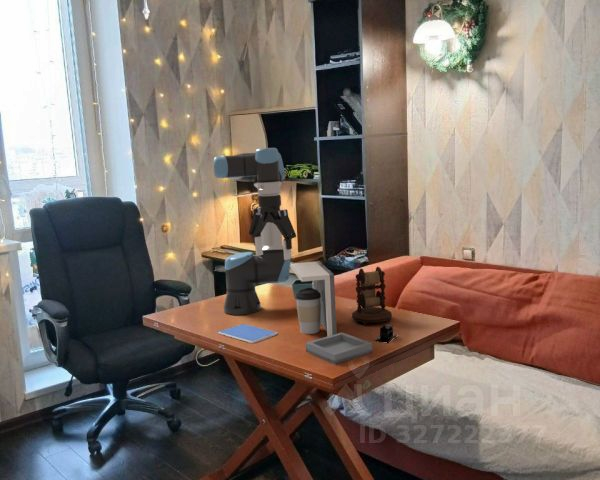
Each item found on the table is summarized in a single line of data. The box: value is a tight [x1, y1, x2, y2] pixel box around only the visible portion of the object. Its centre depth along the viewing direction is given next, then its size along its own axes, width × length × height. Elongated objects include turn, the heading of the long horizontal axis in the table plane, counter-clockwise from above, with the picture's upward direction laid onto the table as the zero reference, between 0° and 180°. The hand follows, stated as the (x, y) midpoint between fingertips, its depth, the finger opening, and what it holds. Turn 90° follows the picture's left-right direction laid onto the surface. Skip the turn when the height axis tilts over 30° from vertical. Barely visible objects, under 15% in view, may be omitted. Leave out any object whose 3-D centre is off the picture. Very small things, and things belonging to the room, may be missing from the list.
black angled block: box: [373, 324, 398, 344], centre depth 197 cm, size 12×7×5 cm, turn 147°
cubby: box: [290, 260, 338, 337], centre depth 208 cm, size 24×11×22 cm, turn 10°
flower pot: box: [291, 279, 313, 302], centre depth 247 cm, size 9×9×9 cm
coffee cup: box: [295, 288, 321, 335], centre depth 208 cm, size 9×9×15 cm
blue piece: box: [217, 323, 278, 344], centre depth 210 cm, size 19×13×1 cm, turn 46°
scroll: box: [351, 266, 393, 326], centre depth 216 cm, size 15×15×20 cm
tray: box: [305, 332, 373, 365], centre depth 186 cm, size 15×15×3 cm
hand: (273, 257), depth 199 cm, fingers open, 13 cm apart
